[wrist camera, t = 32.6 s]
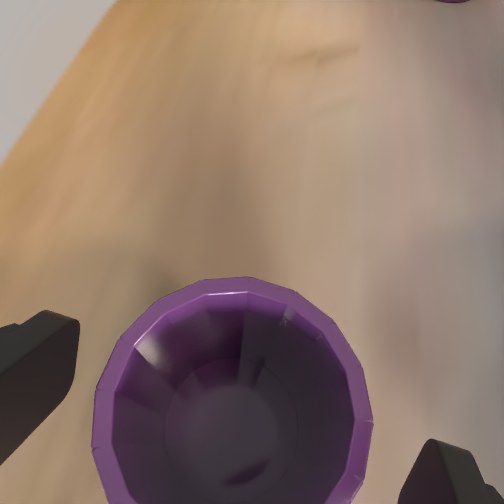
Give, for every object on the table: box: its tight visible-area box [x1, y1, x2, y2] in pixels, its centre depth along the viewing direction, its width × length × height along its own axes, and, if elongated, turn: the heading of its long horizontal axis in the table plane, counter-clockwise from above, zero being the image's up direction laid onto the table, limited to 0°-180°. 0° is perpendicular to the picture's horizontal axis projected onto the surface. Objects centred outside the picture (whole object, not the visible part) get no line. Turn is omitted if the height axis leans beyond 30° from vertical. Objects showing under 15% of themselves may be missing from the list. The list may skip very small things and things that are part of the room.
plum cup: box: [91, 277, 373, 504], centre depth 12 cm, size 6×6×8 cm
